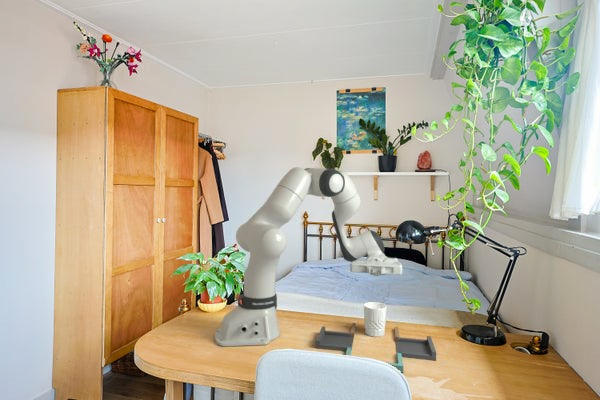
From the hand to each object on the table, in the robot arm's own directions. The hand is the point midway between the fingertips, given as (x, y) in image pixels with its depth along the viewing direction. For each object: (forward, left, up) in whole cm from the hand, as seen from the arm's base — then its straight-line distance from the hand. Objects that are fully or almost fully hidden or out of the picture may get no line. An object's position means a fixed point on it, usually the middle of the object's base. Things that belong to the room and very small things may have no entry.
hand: (375, 271), depth 137 cm
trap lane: (-10, -17, -20) cm, 28 cm away
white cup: (-5, -8, -20) cm, 22 cm away
